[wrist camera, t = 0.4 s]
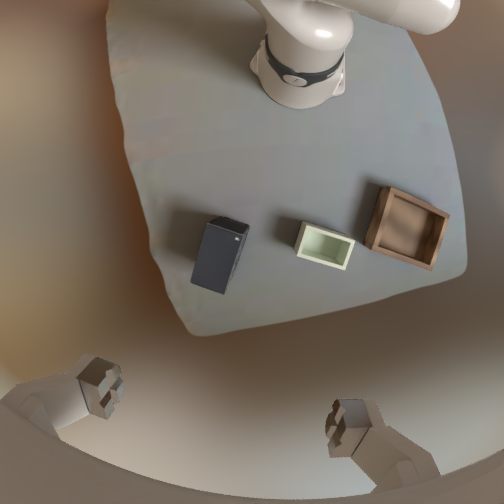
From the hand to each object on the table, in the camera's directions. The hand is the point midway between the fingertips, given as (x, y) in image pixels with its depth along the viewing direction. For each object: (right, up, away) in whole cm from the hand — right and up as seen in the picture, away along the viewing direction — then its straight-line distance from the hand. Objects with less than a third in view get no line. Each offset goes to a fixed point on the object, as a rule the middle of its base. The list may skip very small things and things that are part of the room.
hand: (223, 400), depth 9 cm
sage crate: (+14, +7, +43) cm, 46 cm away
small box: (-4, +7, +44) cm, 45 cm away
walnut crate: (+32, +10, +41) cm, 53 cm away
